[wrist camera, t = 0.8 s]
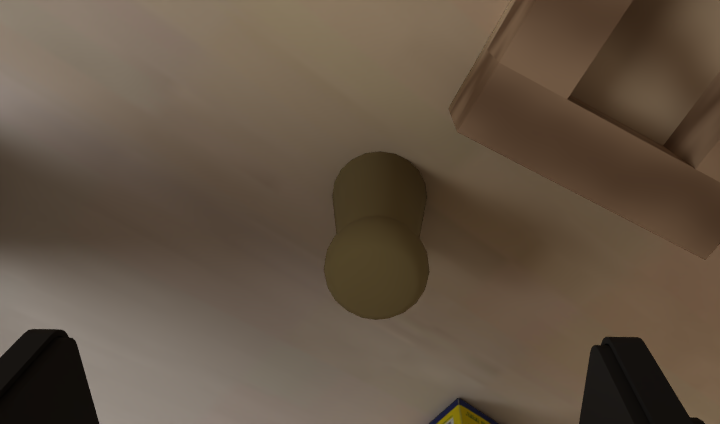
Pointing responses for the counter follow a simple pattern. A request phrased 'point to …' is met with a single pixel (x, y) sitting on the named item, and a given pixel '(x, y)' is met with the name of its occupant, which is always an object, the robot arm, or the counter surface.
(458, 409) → the supplement box
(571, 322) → the counter surface
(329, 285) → the cork
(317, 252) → the counter surface
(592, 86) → the socket block
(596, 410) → the robot arm
